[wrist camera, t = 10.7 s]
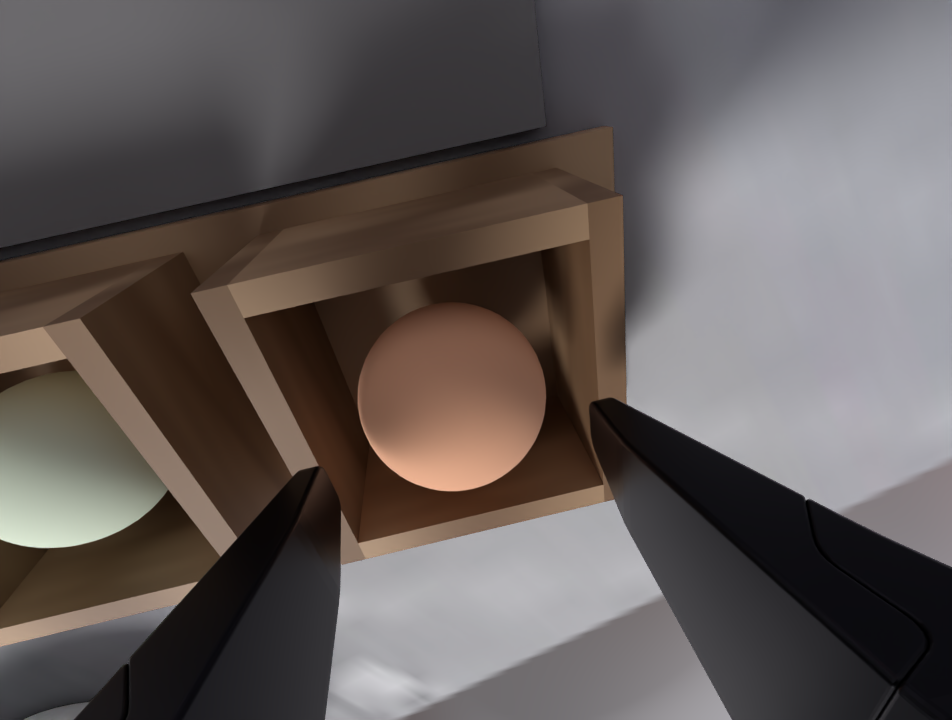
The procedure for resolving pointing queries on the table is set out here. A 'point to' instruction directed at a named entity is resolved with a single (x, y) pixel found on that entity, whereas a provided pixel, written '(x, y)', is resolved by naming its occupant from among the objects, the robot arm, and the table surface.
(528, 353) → the ball terracotta
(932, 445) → the table surface
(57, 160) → the mat
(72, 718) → the ramekin
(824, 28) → the table surface
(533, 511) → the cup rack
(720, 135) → the table surface
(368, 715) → the table surface
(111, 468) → the ball sage
